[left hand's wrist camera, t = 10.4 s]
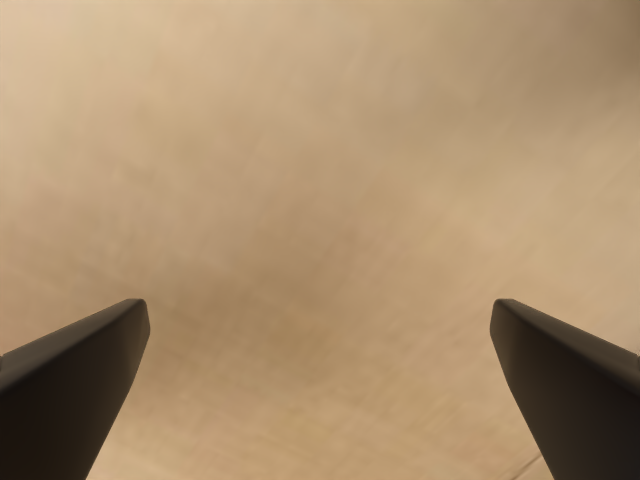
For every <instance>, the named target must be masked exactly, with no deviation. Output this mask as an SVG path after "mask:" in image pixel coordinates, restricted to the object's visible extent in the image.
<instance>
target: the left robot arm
mask: <svg viewBox="0 0 640 480" xmlns="http://www.w3.org/2000/svg"><path fill="white" fill-rule="evenodd" d="M149 335H150V323H149V317H148V311H147V305H146V302H145V301H144V300H143V299H126V300H124V301H122V302H120V303H117V304H115V305H113V306H111V307H108V308H106V309H104V310H102V311H100V312H97V313H95V314H93V315H91V316H88V317H86V318H84V319H82V320H79V321H77V322H75V323H73V324H71V325H68V326H66V327H64V328H62V329H59V330H57V331H55V332H53V333H50V334H48V335H46V336H44V337H41V338H39V339H37V340H35V341H33V342H30V343H28V344H26V345H24V346H21V347H19V348H17V349H15V350H12V351H10V352H8V353H6V354H4V355H3V356H2V357H1V356H0V480H86V478H87V476H88V474H89V472H90V470H91V468H92V465H93V463H94V461H95V459H96V457H97V455H98V453H99V451H100V449H101V447H102V445H103V443H104V441H105V439H106V437H107V435H108V433H109V431H110V429H111V427H112V425H113V423H114V421H115V419H116V417H117V415H118V413H119V411H120V409H121V407H122V405H123V403H124V400H125V398H126V396H127V394H128V392H129V390H130V388H131V386H132V383H133V381H134V378H135V375H136V373H137V370H138V367H139V364H140V361H141V358H142V356H143V353H144V350H145V347H146V344H147V341H148V338H149ZM490 335H491V338H492V341H493V344H494V347H495V350H496V353H497V356H498V358H499V361H500V364H501V367H502V370H503V373H504V375H505V378H506V381H507V383H508V386H509V388H510V390H511V392H512V394H513V396H514V398H515V401H516V403H517V405H518V407H519V409H520V411H521V413H522V415H523V417H524V419H525V421H526V423H527V425H528V427H529V429H530V431H531V433H532V435H533V437H534V439H535V441H536V443H537V445H538V447H539V449H540V451H541V453H542V455H543V457H544V459H545V461H546V463H547V465H548V468H549V470H550V472H551V474H552V476H553V478H554V480H640V356H639V357H638V356H637V355H636V354H634V353H632V352H630V351H628V350H625V349H623V348H621V347H619V346H616V345H614V344H612V343H610V342H607V341H605V340H603V339H601V338H599V337H596V336H594V335H592V334H590V333H587V332H585V331H583V330H581V329H578V328H576V327H574V326H572V325H569V324H567V323H565V322H563V321H561V320H558V319H556V318H554V317H552V316H549V315H547V314H545V313H543V312H540V311H538V310H536V309H534V308H532V307H529V306H527V305H525V304H523V303H520V302H518V301H516V300H514V299H497V300H496V301H495V302H494V305H493V311H492V317H491V323H490Z"/></svg>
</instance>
